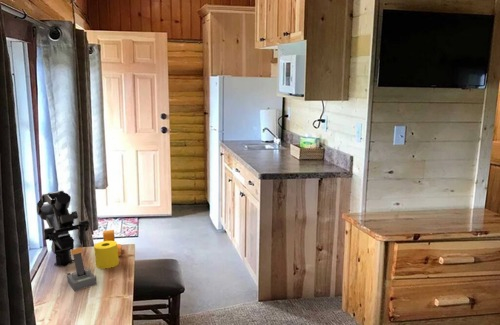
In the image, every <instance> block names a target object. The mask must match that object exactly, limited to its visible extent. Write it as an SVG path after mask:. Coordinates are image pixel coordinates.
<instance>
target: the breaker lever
mask: <svg viewBox="0 0 500 325" xmlns="http://www.w3.org/2000/svg"><path fill="white" fill-rule="evenodd" d="M70 251H71V256H72V257H73V260H74V261H73V263H74V265H75V266H74V268H75V271H76V273H77V276H78V277H79V276H83V275H85V265H84V260H83V256H82V253H83V249H82V247H78V248H75V249H73V250H70Z"/></svg>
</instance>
